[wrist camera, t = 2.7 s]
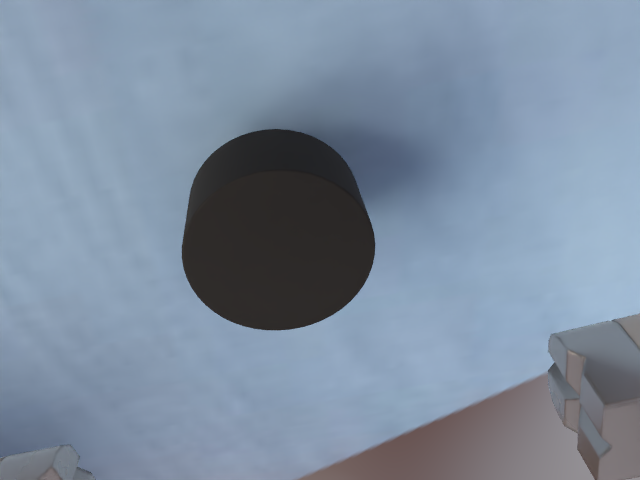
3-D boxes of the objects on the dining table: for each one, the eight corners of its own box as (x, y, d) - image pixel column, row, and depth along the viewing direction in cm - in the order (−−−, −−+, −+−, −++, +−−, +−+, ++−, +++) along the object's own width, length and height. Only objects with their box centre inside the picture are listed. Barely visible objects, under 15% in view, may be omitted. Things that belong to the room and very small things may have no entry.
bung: (219, 257, 19) (215, 348, 15) (171, 125, 16) (152, 197, 13) (359, 224, 19) (387, 307, 15) (333, 87, 16) (358, 148, 13)
